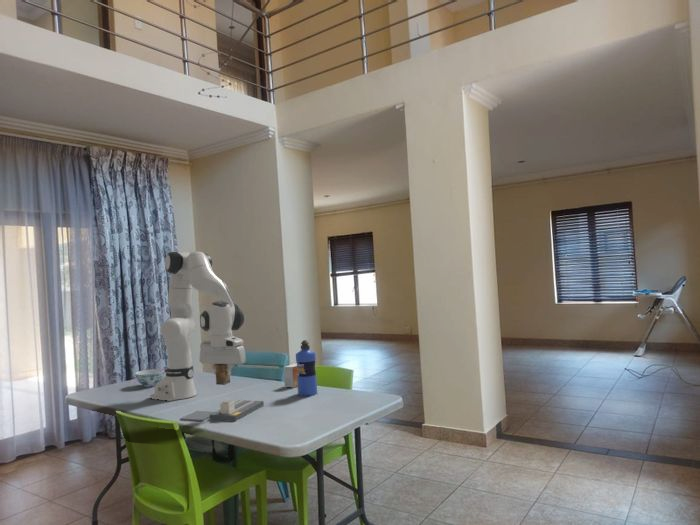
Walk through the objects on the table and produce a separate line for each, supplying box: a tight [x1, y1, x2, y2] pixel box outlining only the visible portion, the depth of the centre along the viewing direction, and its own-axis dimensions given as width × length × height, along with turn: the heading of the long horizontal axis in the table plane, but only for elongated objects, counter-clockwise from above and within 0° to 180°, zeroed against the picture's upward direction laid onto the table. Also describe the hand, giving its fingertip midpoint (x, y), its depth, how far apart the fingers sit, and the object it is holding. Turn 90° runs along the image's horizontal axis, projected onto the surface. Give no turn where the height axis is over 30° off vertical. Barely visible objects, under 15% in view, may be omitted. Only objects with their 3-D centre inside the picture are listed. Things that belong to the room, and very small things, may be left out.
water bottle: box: [295, 339, 318, 397], centre depth 231 cm, size 9×9×25 cm
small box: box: [283, 363, 298, 389], centre depth 248 cm, size 8×6×10 cm
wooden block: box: [215, 364, 231, 386], centre depth 202 cm, size 4×4×8 cm
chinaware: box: [134, 368, 165, 388], centre depth 268 cm, size 15×15×8 cm
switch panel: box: [209, 399, 265, 422], centre depth 205 cm, size 12×22×3 cm, turn 161°
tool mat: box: [179, 410, 215, 422], centre depth 202 cm, size 11×11×1 cm
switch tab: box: [219, 399, 235, 414], centre depth 198 cm, size 4×4×4 cm
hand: (222, 374), depth 202 cm, fingers closed on wooden block, 4 cm apart
